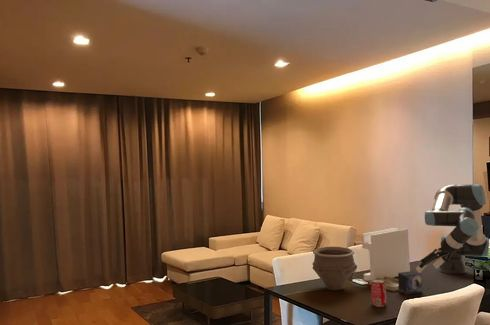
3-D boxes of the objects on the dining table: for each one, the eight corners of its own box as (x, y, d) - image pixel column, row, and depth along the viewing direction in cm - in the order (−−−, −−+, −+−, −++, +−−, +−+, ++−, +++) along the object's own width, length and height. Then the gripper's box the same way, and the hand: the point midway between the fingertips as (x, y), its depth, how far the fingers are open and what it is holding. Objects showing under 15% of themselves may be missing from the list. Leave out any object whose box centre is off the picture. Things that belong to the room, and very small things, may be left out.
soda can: (383, 302, 203) (382, 278, 203) (389, 307, 196) (387, 282, 196) (369, 303, 202) (368, 279, 203) (374, 308, 195) (373, 283, 196)
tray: (385, 280, 242) (385, 276, 242) (411, 287, 227) (410, 282, 227) (368, 284, 236) (368, 280, 236) (393, 291, 220) (393, 287, 220)
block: (374, 282, 239) (372, 235, 239) (363, 280, 245) (361, 233, 246) (410, 272, 258) (407, 228, 259) (398, 270, 265) (396, 227, 266)
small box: (405, 295, 213) (405, 275, 213) (398, 292, 219) (397, 272, 219) (422, 293, 216) (422, 273, 216) (414, 289, 222) (413, 270, 222)
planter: (358, 283, 238) (356, 246, 239) (358, 296, 215) (356, 254, 215) (315, 282, 245) (314, 245, 245) (310, 293, 221) (309, 253, 222)
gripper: (440, 252, 187) (414, 278, 200) (473, 246, 199) (446, 271, 212) (430, 239, 192) (405, 265, 205) (462, 234, 204) (437, 259, 217)
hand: (426, 268), depth 208 cm, fingers open, 13 cm apart
